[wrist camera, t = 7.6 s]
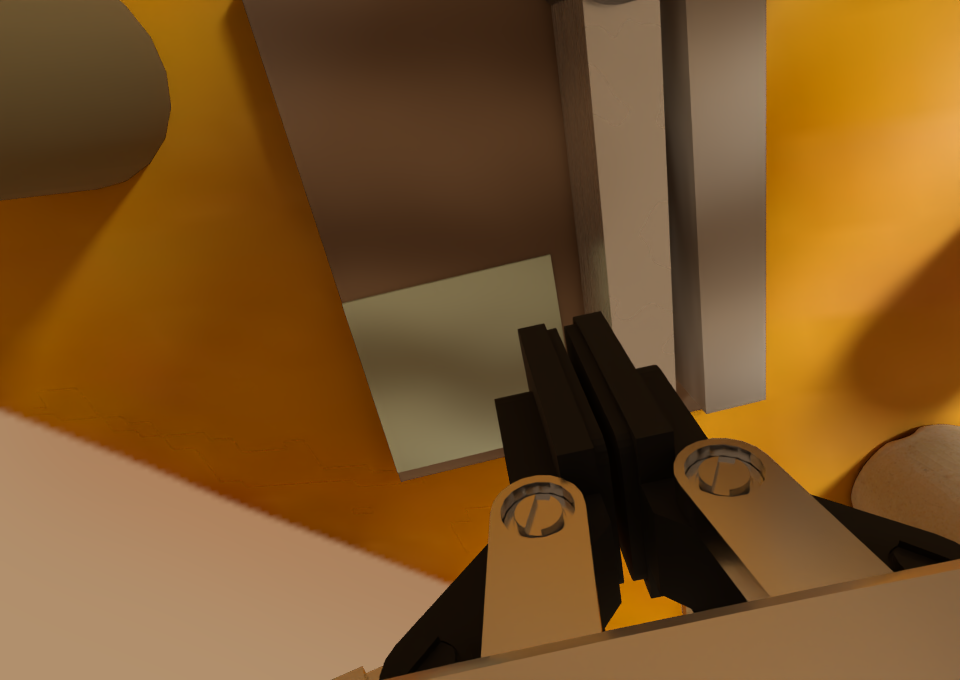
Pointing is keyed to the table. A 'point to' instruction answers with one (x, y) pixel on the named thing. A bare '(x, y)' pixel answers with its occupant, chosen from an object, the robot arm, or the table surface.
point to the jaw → (619, 168)
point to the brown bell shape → (76, 96)
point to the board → (508, 198)
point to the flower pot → (915, 481)
